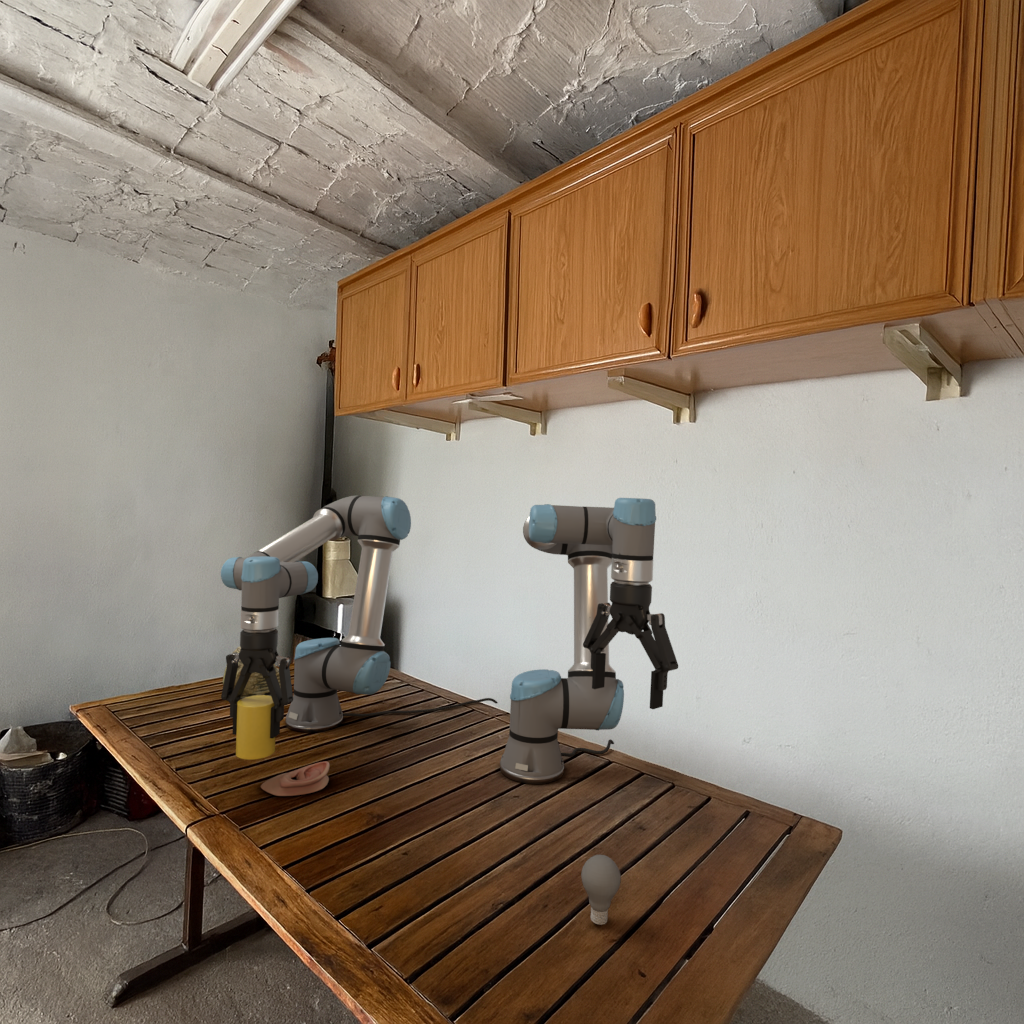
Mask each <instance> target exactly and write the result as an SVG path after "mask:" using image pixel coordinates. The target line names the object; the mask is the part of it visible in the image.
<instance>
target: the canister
mask: <svg viewBox="0 0 1024 1024" xmlns="http://www.w3.org/2000/svg"><path fill="white" fill-rule="evenodd" d="M273 706H275V705H274V702H273V700H272V697H271V696H267V695H257V696H249V697H245V698H241V699H240V700H239V701H238V702H237V730H236V735H235V738H236V739H235V756H236V757H237V758H238V759H241V760H250V761H251V760H260V759H264V758H267V757H269V756H272V755H273V754H274V753H275V751H276V737H275V738H270V724H271V708H272V707H273Z"/></svg>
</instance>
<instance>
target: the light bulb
mask: <svg viewBox="0 0 1024 1024" xmlns="http://www.w3.org/2000/svg"><path fill="white" fill-rule="evenodd" d="M621 875H622V874H621V871H620V868H619V867H618V865H617V863H616V862H615V861H614V860H613V859H612V858H611V857H609V856H608V855H605V854H595V855H592V856H590V857H589V858H588V859H587V860H586V861H585V862H584V864H583V866H582V869H581V875H580V877H581V883H582V886H583V888H584V890H585V892H586V894H587V896H588V902H589V905H590V920H591V922H593V923H594V924H596V925H601V926H602V925H606V924H607V922H608V918H609V917H608V914H609V908H610V906H611V903H612V900H613V898H614V897H615V895H616V894H617V892H618V891H619V889H620V885H621V880H622V876H621Z"/></svg>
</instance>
